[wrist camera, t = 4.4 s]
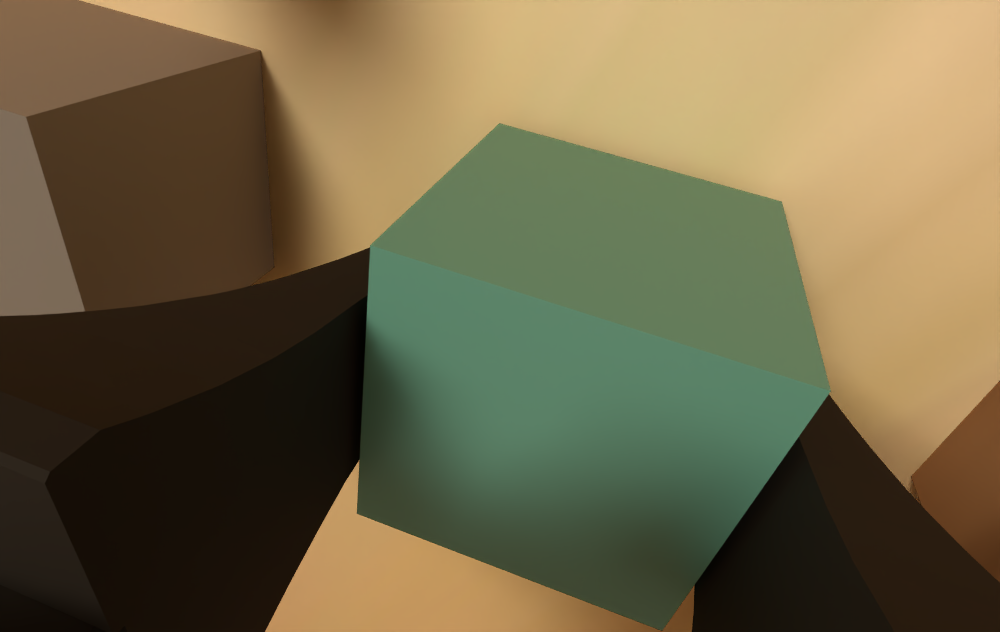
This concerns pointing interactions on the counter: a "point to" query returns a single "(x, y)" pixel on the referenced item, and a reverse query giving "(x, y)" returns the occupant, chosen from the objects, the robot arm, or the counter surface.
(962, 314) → the counter surface
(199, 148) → the gray block
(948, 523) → the walnut block
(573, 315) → the muted green block
